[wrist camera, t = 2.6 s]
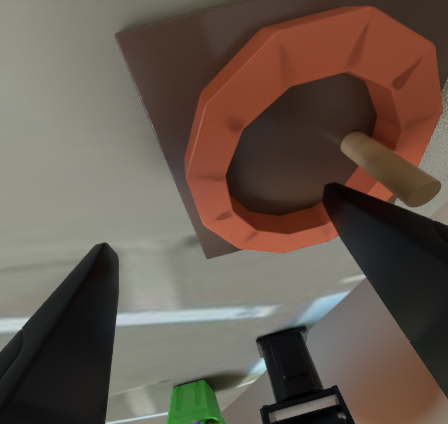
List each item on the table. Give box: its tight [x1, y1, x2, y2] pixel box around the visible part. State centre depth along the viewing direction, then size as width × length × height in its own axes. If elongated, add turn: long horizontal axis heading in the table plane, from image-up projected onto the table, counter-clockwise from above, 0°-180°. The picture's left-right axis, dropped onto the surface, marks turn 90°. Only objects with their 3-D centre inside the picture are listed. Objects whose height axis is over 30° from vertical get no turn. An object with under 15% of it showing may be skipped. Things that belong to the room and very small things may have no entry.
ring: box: [184, 6, 443, 253], centre depth 11 cm, size 11×11×2 cm
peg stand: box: [115, 0, 448, 259], centre depth 10 cm, size 12×13×5 cm
